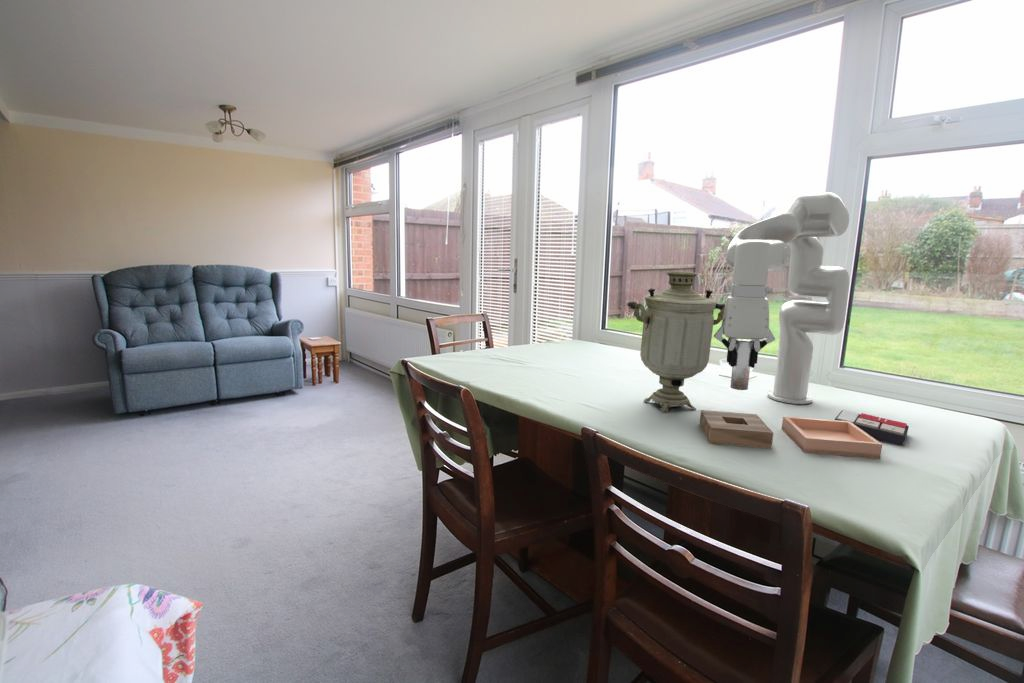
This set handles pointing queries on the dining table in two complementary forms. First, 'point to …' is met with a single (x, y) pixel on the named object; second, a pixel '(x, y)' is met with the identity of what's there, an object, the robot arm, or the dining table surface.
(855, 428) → the tray
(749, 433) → the wooden square hole block
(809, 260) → the robot arm
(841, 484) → the dining table surface
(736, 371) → the pin
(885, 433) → the calculator
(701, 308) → the samovar
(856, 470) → the dining table surface
